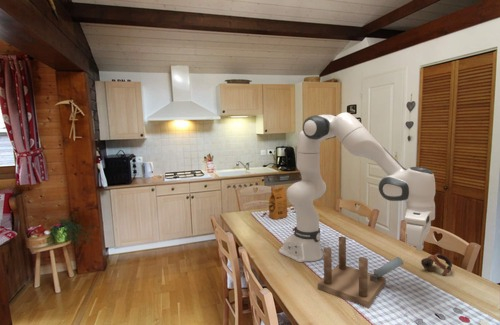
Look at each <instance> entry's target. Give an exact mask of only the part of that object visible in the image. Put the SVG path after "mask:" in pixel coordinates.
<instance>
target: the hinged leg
mask: <svg viewBox="0 0 500 325" xmlns="http://www.w3.org/2000/svg"><path fill="white" fill-rule="evenodd" d="M402 265H404V261H403V260H402V259H401V257H399V256H397V257H395V258H393V259H392V260H390V261H388V262H386V263H385V264H383V265H382V266H380V267H378V268H376V270H375V269H374V270H375V271H374V270H373V274H374V275H376V276H377V278H380V277H384V276H385V275H387V274H389V273H390V272H392V271H394V270H396V269H397V268H400V267H401V266H402Z"/></svg>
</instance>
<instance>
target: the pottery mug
mask: <svg viewBox="0 0 500 325" xmlns="http://www.w3.org/2000/svg"><path fill="white" fill-rule="evenodd" d="M439 259H441V260H444V261H445V264H444V263H443V262H442V261H440V260H439ZM420 262H421V263H420V264H421V266H422V267H423V269H425V270H427V271H429V270H430V268H431V266H433V265H434V264H435V265H436V266H437V267H439V268H440V269H441V270H443V272H442V274H441V275H442V276H447V275H448V274H450V273H451V271H452V267H453V264H452V261H451V260H450V259H449V258H448V257H447V256H446V255H444V254H441V253H436V254H431V255H429V256H428V257H425V258H422V259H421V261H420ZM446 264H447V265H448V266H446Z"/></svg>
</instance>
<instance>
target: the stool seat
mask: <svg viewBox="0 0 500 325" xmlns="http://www.w3.org/2000/svg"><path fill="white" fill-rule="evenodd" d="M332 260H333V259H332V248H330V247H324V248H323V277H322V279H320V280H319V281H318V282H317V290H320V291H322V292H324V293H328V294H329V295H333V296H335V297H338V298H341V299H343V300H345V301H348V302H351V303H353V302H354V303H353V304H356V303H357V304H356V305H358V304H360V305H359V306H361V305H362V306H361V307H364V306H365V307H364V308H366V307H367V308H366V309H369V308H370V307H371V306H372V305H373V303H374V301H375V300H376V298H377V297H378V295H379V294H380V293H379V292H381V291H382V290H383V288H384V287H385V286H386V283H387V282H386V281H387V280H386V278H387V277H385V276H382V277H380V278H377V276H376V275H374V273H370V272H368V270H369V269H368V268H369V267H368V265H369V261H368V258H367V257H364V256H361V257H358V268H355V267H351V266H347V238H346V237H345V236H338V264H336V265H335V267H333V268H332V266H333V264H332ZM375 270H377V268H376V269H373V272H374V271H375ZM376 296H377V297H376ZM374 299H375V300H374ZM372 302H373V303H372ZM370 305H371V306H370Z"/></svg>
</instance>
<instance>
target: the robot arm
mask: <svg viewBox="0 0 500 325" xmlns="http://www.w3.org/2000/svg"><path fill="white" fill-rule="evenodd" d="M333 138H337V139H338V140H339V141H340V143H341V145H342V146H343V147H344V148H345V149H346V150H347V151H348V152H349V154H351V155H352V156H356V157H361V158H364V159H368V160H371V161H373V162H375V163H376V165H378V166H379V167H380V168H381V170H382V171H383V172H384V173H385V174H386V175H387V176H385V177H383V178H381V179H380V181H379V182H378V192H379V194H380V195H381V196H382V198H383V199H385V200H387V201H389V202H390V201H391V202H397V201H398V202H401V201H403V202H405V215H404V223H406V226H405V228H406V240H407V244H408V245H409V246H412V247H415V250H416V251H418V252H422V251H423V249H424V243H425V239H426V237H427V236H428V234H429V232H430V231H431V226H432V221H434V220H436V219H435V218H436V203H435V196H436V179H435V174H434V172H433V171H432V170H430V169H428V168H425V167H421V166H412V167H411V166H410V167H409V168H405V167H404V166H403V165H402V164H400V162H399V161H398V160H397V159H395V157H394V156H393V155H392V154H391V153H390V152H389V151H388V150H387V149H386V148H385V147H384V146H382V145H381V144H380V143H379V142H378V140H376V138H374V136H373V135H372V134H371V133H370V132H369V131H368V129H367V128H366V127H365V126H364V125H363V124H362V123H361V121H360V120H358V119H357V118H356V117H355V116H354V115H352V114H351V113H350V112H346V111H345V112H341V113H339V114H337V115H336V114H323V113H322V114H319V115H315V114H314V115H311V116H309V117H307V118H306V119H304V121H303V123H302V130H301V131H300V132H299V134H298V138H297V142H296V143H297V145H296V146H297V147H296V163H295V164H296V168H297V170H298V171H299V173H300V177H301V180H300V181H297V182H294V183H292V184H291V185H290V186H289V187H288V188H287V190H286V192H285V194H286V198H287V201H288V202H289V203H290V204H292V206H293V208H294V210H295V218H296V220H295V221H296V226H295V227H294V228H292V232H294V233H292V234H291V235H289V236H288V237H287V238H285V240H284V241H283V245H282V246H281V247H280V248H279V250H278V253H280V255H283V256H285V257H287V258H289V259H292V260H293V261H296V262H298V263H303V262H315V261H319V260H321V259H323V258H324V253H323V251H322V246H321V228H320V214H319V212H318V210H316V209H315V205H314V201H315V200H317V199H319V198H321V197H322V196H323V195H324V194H325V193H326V191H327V184H326V182H325V181H324V179H323V177H322V174H321V166H320V165H321V164H320V163H321V145H322V142H323V141H324V140H326V141H327V140H329V139H333Z"/></svg>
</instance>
